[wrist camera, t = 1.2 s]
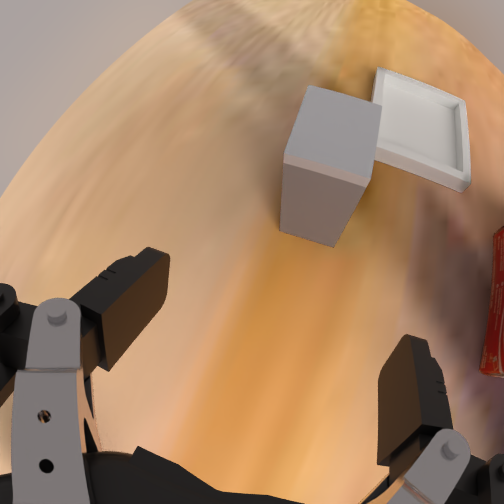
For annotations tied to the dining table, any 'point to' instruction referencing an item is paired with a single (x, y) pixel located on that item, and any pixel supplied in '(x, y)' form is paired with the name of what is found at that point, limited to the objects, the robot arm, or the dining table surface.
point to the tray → (422, 130)
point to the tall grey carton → (327, 164)
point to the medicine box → (495, 314)
